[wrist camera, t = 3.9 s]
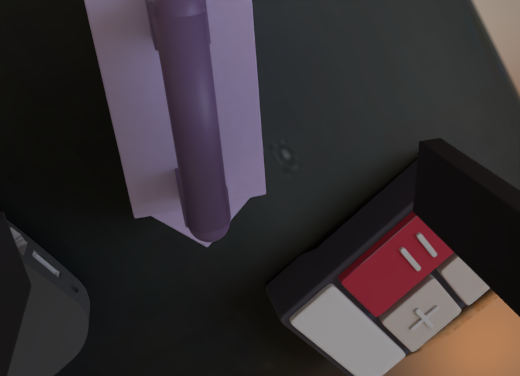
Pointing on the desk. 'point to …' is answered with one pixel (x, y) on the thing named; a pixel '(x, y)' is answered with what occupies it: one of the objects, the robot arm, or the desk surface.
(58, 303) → the media streaming box
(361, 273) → the calculator
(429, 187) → the robot arm
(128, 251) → the desk surface
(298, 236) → the desk surface
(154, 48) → the iron
